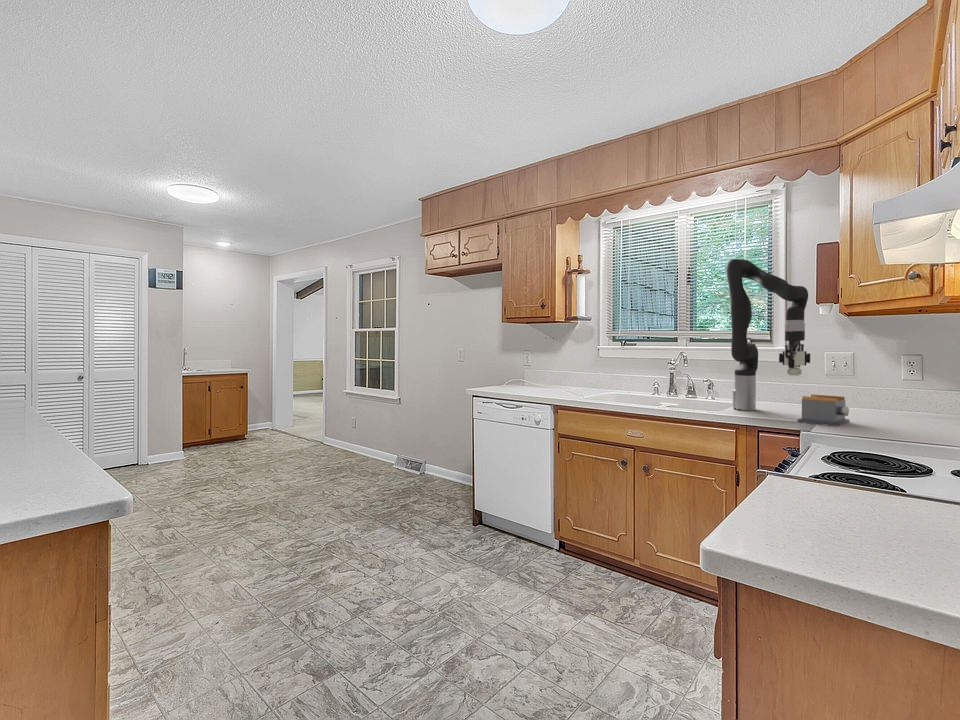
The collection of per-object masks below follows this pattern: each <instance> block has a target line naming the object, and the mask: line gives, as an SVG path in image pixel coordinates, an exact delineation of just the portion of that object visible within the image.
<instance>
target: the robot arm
mask: <svg viewBox="0 0 960 720" xmlns="http://www.w3.org/2000/svg"><path fill="white" fill-rule="evenodd" d="M725 273H726V279H727V280H726V281H727V284H728V291H729V293H728V294H729V302H730V304H729V305H730V306H729V307H730V319H731V349H730V351H731V357H732V358H733V360H734V361H735V362H738V363H739V365H738V366H737V368H735V369H734V389H733V390H732V409H733V408H736V409H735V410H738V409H741V410H740V411H755V410H754V409H756V410H757V408H756V406H757V402H756V401H757V400H756V398H757V397H756V396H757V393H756V392H757V388H756V387H757V386H756V385H757V384H756V383H757V382H756V378H757V376H756V374H757V370H758V367H759V351H758V350H759V349H758V346H756V345H755V344H754V343H751V342H748V328H749V327H750V324H751V321H752V317H753V312H752V302H751V300H750V298H749V295H748V294H747V292H746V290H745V287H744V284H743V279H747V280H750V281H754V282H756V283H757V284H759V286H760V287H762V288H763V289H765V290H766V291H769V292H771V293H773V294H776V295H777V296H778V297H779V298H781V299H782V300H785V301H787V302H791V305H790V306H789V307H788V308H786V310H785V323H784V340H785V341H786V342H788V344H785V346H784V351H785V354H786V358H787V359H789V360H788V365H787V366H788V367H787V368H788V369H789V368H794V360H793V359H794V358H795V355H796V354H797V351H805V350H804V347H805V344H804V343H801V341H802V342H803V341H805V339H806V336H805V335H806V323H805V310H806V307H807V303H808V300H809V291H808V289H807V288H806V287H805V286H803V285H792V284H789V283H788V281H786V280H785V279H783V278H781V277H779V276H777V275H774V274H772V273H770V272H767V271H765V270H764V269H762V268H760V267H759V266H757V265H755V264H754V263H753V262H751V261H750V260H748V259H742V258H740V259H739V258H732V259H730V260H729V261H728V262H727V265H726V267H725ZM793 351H795V352H793ZM800 367H801V365H799V366H798V367H797V366H796V368H800Z"/></svg>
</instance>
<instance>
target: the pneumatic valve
mask: <svg viewBox="0 0 960 720" xmlns="http://www.w3.org/2000/svg"><path fill="white" fill-rule="evenodd" d="M793 352H795V351H793ZM788 360H789V359H787V358H786V354H785V350H783V351H782V352H780V353H779V354H778V363H780V364H781V363H782V366H788ZM793 360H794V368H789V367H788V368H787V372H786V373H787V374H788V375H789V376H796V377H799V375H802V369H801V368H800V367H798V366H799V365H800V366H807V364H811V353H808V352H807V350H804V351H797V354H796V355H795V358H794V359H793ZM796 366H797V367H796Z"/></svg>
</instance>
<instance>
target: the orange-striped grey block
mask: <svg viewBox="0 0 960 720" xmlns="http://www.w3.org/2000/svg"><path fill="white" fill-rule="evenodd" d="M849 413H850V408H849V406H846V398H845V396H839V395H828V394H827V395H826V394H825V395H824V394H810V396H809V395H807V396H806V395H802V399H801V417H800V418H798V419H797V422H798V423H803V422H806V423H805V424H812V423H813V424H815V425H821V424H828V425H827V426H830V425H839V426H841V425H840V424H842V425H845V424H848V423H850V418H846V417H848V416H849ZM844 423H845V424H844Z"/></svg>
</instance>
